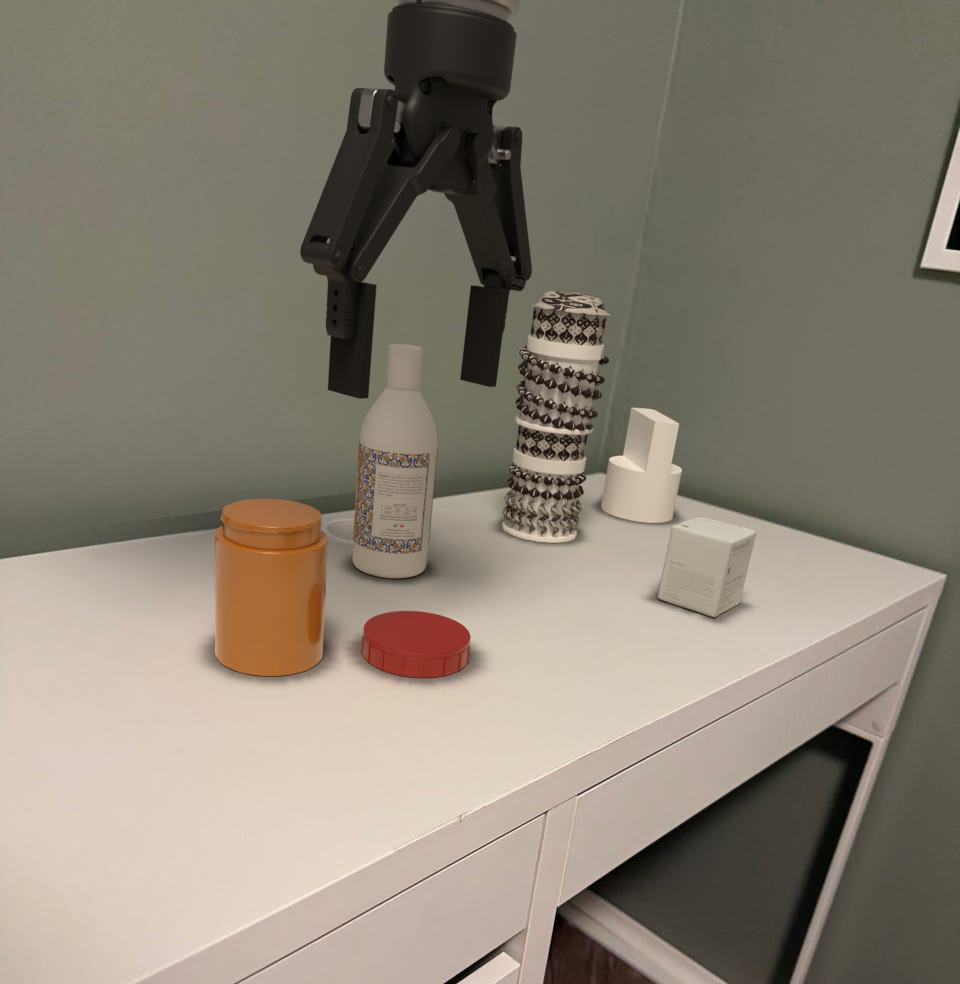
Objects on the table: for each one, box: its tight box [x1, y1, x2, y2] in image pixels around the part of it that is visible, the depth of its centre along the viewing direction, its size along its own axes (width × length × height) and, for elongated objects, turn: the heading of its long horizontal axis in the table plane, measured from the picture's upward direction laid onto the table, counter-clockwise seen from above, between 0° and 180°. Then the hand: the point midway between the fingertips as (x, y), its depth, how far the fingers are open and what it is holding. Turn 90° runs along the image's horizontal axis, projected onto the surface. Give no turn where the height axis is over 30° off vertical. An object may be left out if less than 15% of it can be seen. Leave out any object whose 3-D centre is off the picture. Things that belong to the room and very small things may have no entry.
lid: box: [360, 610, 471, 679], centre depth 69 cm, size 8×8×2 cm
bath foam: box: [352, 343, 439, 579], centre depth 82 cm, size 7×7×20 cm
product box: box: [657, 516, 757, 618], centre depth 86 cm, size 6×6×7 cm
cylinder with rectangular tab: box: [600, 407, 683, 524], centre depth 113 cm, size 9×9×12 cm
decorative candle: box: [501, 290, 611, 544], centre depth 98 cm, size 9×9×25 cm
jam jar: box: [214, 498, 329, 677], centre depth 65 cm, size 8×8×11 cm
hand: (418, 388), depth 62 cm, fingers open, 13 cm apart
